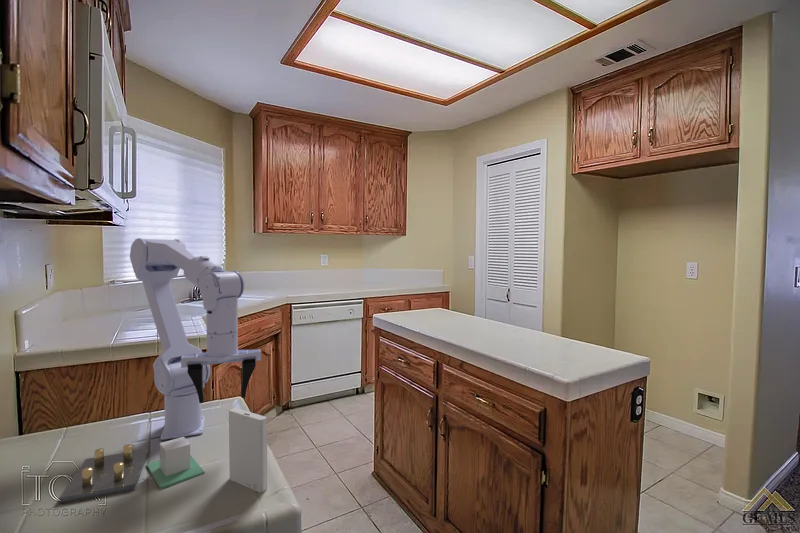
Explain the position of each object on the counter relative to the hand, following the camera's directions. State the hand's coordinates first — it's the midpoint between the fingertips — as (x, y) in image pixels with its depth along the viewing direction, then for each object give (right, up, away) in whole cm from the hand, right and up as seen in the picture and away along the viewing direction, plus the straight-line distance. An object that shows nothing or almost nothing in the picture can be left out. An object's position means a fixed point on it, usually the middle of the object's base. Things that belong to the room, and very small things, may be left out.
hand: (222, 398), depth 82 cm
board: (-5, -11, -7) cm, 14 cm away
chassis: (-16, -11, -10) cm, 21 cm away
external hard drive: (+9, -11, -12) cm, 19 cm away
